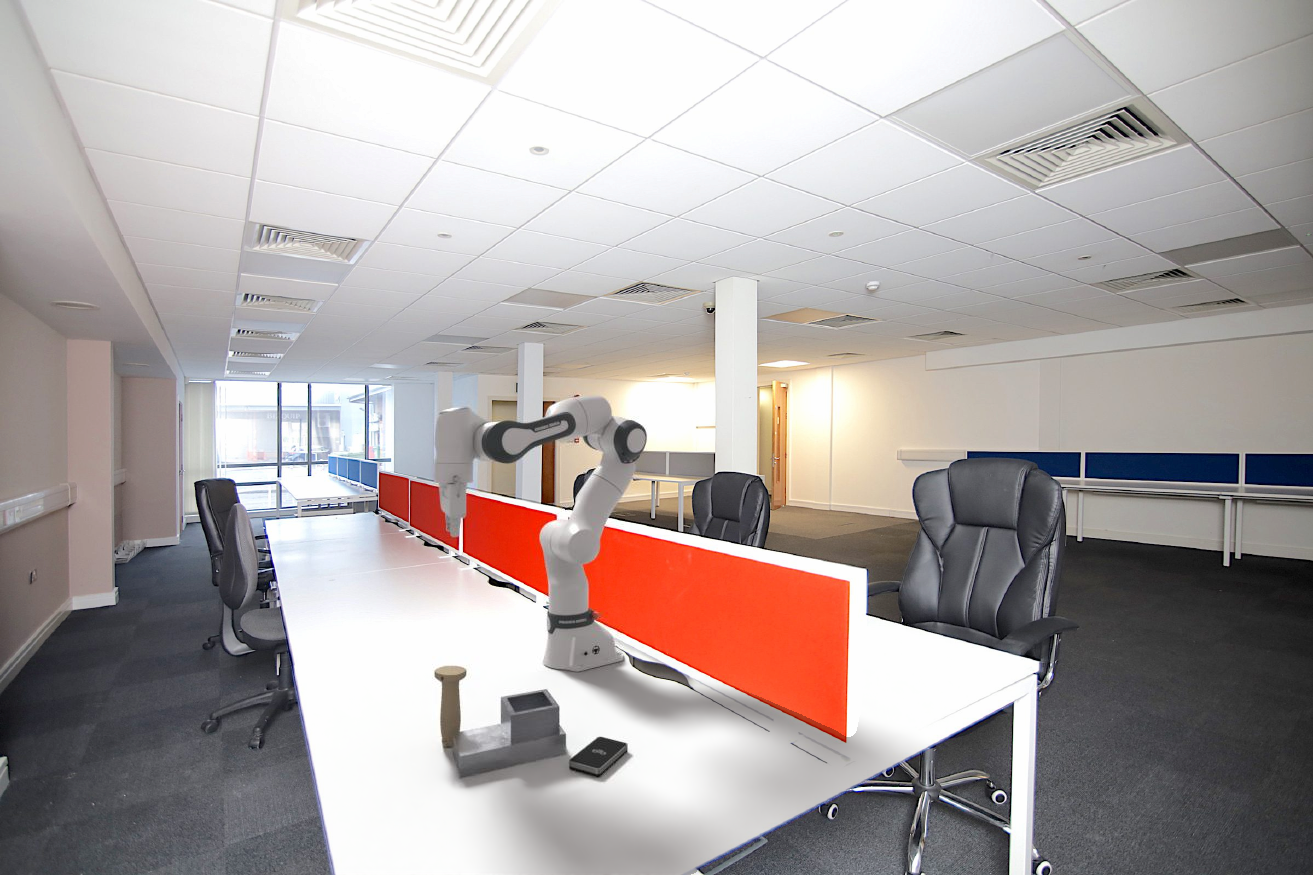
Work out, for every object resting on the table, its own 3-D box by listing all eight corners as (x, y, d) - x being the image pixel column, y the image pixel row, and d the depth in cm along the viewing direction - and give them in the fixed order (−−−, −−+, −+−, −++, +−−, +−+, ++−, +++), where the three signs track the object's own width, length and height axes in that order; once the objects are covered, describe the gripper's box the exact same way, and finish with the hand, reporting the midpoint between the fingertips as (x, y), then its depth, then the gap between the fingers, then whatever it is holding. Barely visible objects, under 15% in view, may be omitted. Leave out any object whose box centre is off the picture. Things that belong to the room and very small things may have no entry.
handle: (454, 752, 121) (454, 676, 121) (429, 746, 124) (429, 671, 124) (471, 741, 126) (471, 668, 126) (446, 736, 128) (446, 664, 128)
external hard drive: (628, 753, 122) (628, 743, 122) (598, 780, 112) (598, 769, 112) (599, 745, 125) (599, 735, 125) (567, 771, 115) (567, 760, 115)
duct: (552, 732, 130) (552, 687, 130) (566, 754, 121) (566, 705, 121) (453, 753, 121) (453, 704, 121) (460, 778, 112) (460, 725, 112)
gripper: (473, 477, 137) (472, 539, 137) (462, 473, 156) (461, 528, 156) (443, 477, 135) (442, 540, 135) (435, 473, 154) (434, 529, 153)
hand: (452, 533), depth 145 cm, fingers open, 8 cm apart
